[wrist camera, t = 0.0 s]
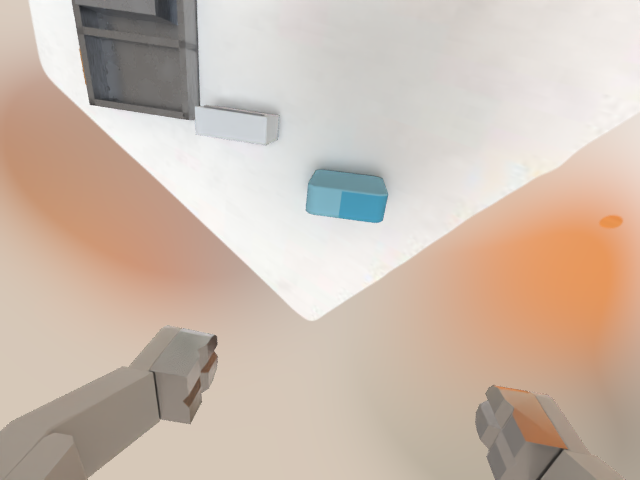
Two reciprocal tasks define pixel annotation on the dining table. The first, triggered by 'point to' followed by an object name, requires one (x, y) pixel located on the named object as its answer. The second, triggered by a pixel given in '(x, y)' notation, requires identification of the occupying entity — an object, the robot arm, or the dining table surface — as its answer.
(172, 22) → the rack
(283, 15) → the dining table surface
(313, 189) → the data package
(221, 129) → the light grey block
